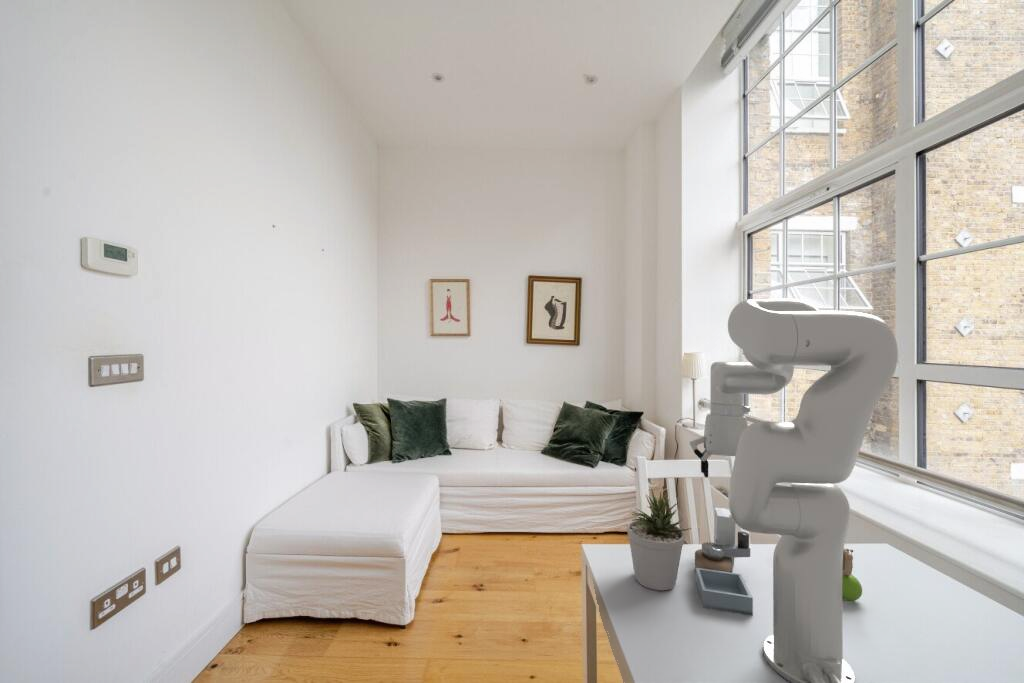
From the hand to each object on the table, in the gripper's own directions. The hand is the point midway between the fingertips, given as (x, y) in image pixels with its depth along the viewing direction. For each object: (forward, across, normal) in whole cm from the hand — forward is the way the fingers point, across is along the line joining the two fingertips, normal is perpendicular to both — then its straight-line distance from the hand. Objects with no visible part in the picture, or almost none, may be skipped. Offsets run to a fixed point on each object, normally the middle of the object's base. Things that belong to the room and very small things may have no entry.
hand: (726, 477), depth 105 cm
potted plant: (+21, +17, +15) cm, 31 cm away
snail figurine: (+21, -21, +11) cm, 32 cm away
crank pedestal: (+21, +4, +8) cm, 23 cm away
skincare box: (+21, 0, 0) cm, 21 cm away
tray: (+21, +4, +18) cm, 28 cm away
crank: (+16, +2, +7) cm, 18 cm away
